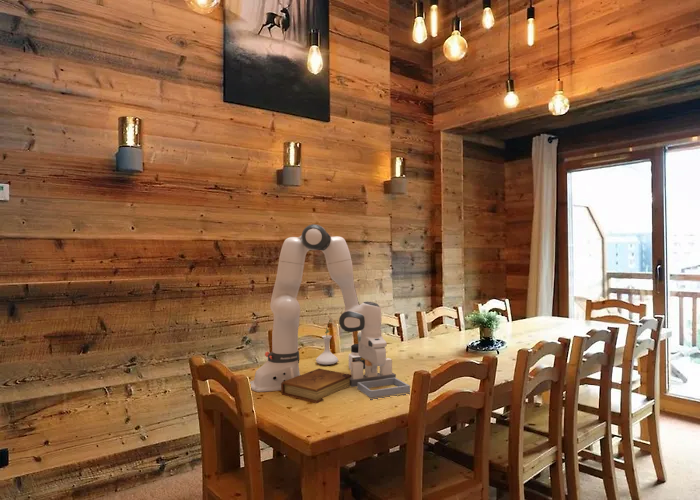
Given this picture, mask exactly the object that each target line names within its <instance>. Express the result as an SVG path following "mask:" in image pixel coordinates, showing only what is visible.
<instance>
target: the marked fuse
mask: <svg viewBox="0 0 700 500" xmlns="http://www.w3.org/2000/svg"><path fill="white" fill-rule="evenodd" d="M371 368H372V363H371V362H369V361H368V360H365V369H364V375H365V376H366V377H375V376H377V373H378V367H377V368H376V373H372V372H371Z"/></svg>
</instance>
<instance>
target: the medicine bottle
mask: <svg viewBox="0 0 700 500" xmlns="http://www.w3.org/2000/svg"><path fill="white" fill-rule="evenodd" d="M350 347H351V348H350V351H351V353H348V369H349V370H350V371H351V362H358V361H361V362H363V370H365V359H364V358H362V357H360V356H359V354H358V348H359V343H354V344H351V346H350Z"/></svg>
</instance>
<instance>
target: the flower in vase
mask: <svg viewBox="0 0 700 500" xmlns="http://www.w3.org/2000/svg"><path fill="white" fill-rule="evenodd" d="M327 317H328V319H329V320H328V323H327V325H326V328H325V333H324V334H326V335H322V336H321V338H322V339H323V342H324V350H323V352H322V353H320V354H319V355H318V356H317V357H316V359H315V362H316V363H317V364H318V365H326V366H327V365H328V366H329V365H334V364H337V363H338V362H339V358H338V357H337V356H336V355H335V354H334V353H332V352H331V350H330V342H331V339H332V337H333V336H332V335H328V333H330V330H328V327H329V326H328V325H329V324H330V323H331V324H332V325H333V327H336V326H337V325H336V323H335V321H333V318H332V317H331V315H330V313H327Z"/></svg>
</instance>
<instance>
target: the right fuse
mask: <svg viewBox="0 0 700 500" xmlns="http://www.w3.org/2000/svg"><path fill="white" fill-rule="evenodd" d="M379 373H380V374H381V375H390V374H392V373H393V359H392V358H390V357H386V362H385V365H383V366H379Z"/></svg>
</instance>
